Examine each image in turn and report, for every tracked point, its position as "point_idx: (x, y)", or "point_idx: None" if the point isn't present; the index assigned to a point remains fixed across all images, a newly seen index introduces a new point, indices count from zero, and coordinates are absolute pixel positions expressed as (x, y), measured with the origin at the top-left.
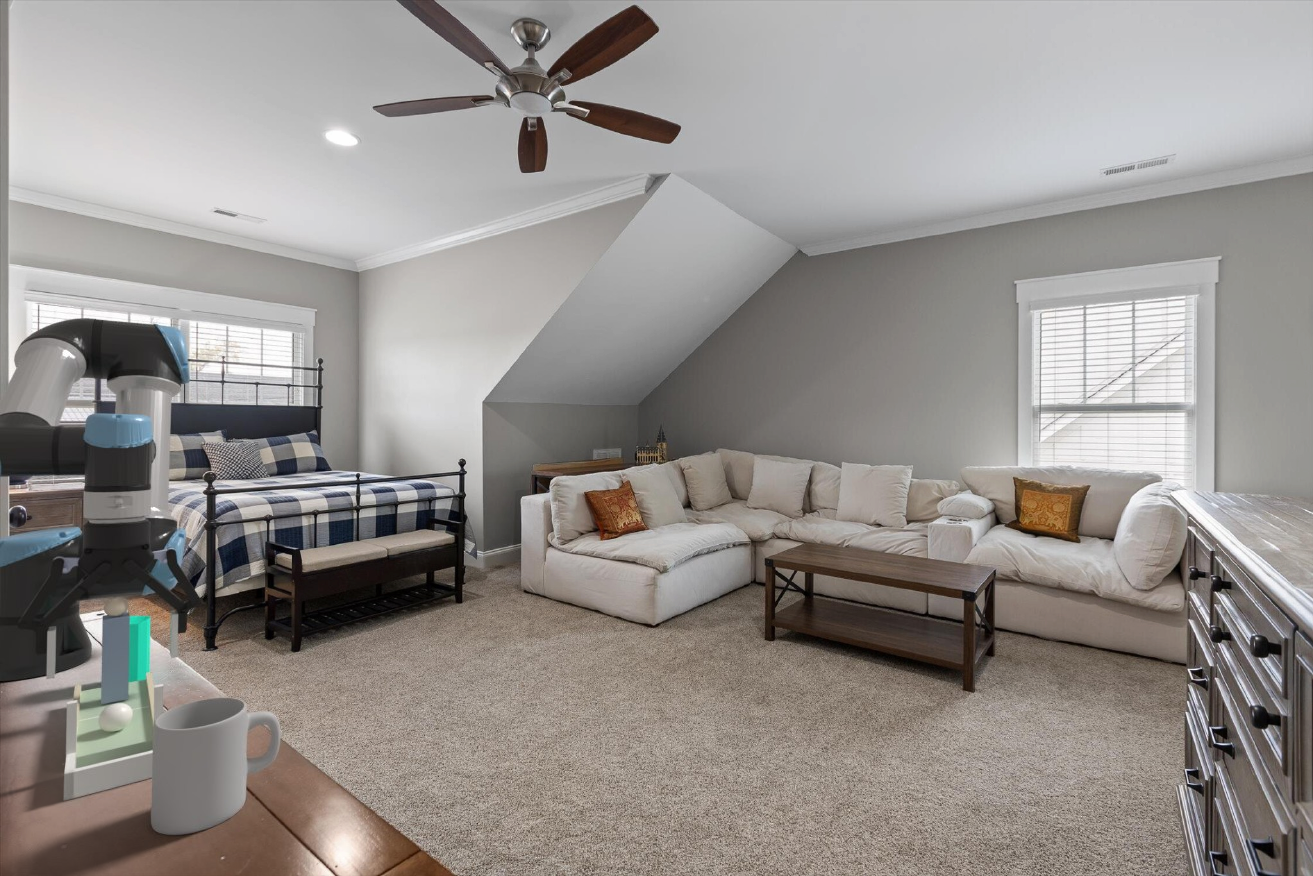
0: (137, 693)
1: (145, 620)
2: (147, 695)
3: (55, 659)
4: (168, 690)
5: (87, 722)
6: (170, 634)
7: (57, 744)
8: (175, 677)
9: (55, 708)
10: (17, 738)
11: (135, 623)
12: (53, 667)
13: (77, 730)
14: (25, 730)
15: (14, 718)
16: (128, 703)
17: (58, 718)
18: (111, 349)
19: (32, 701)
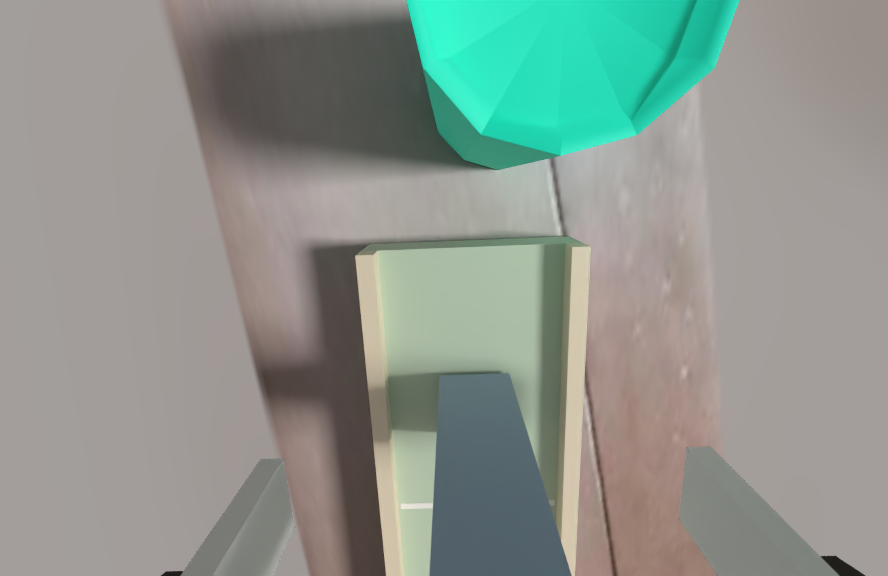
0: (533, 378)
1: (696, 80)
2: (557, 413)
3: (258, 502)
4: (613, 261)
5: (419, 527)
6: (753, 544)
7: (368, 500)
8: (652, 124)
9: (322, 233)
10: (279, 415)
11: (620, 64)
12: (274, 564)
13: (403, 564)
14: (284, 371)
15: (234, 257)
16: None
17: (344, 328)
18: None
19: (243, 113)
